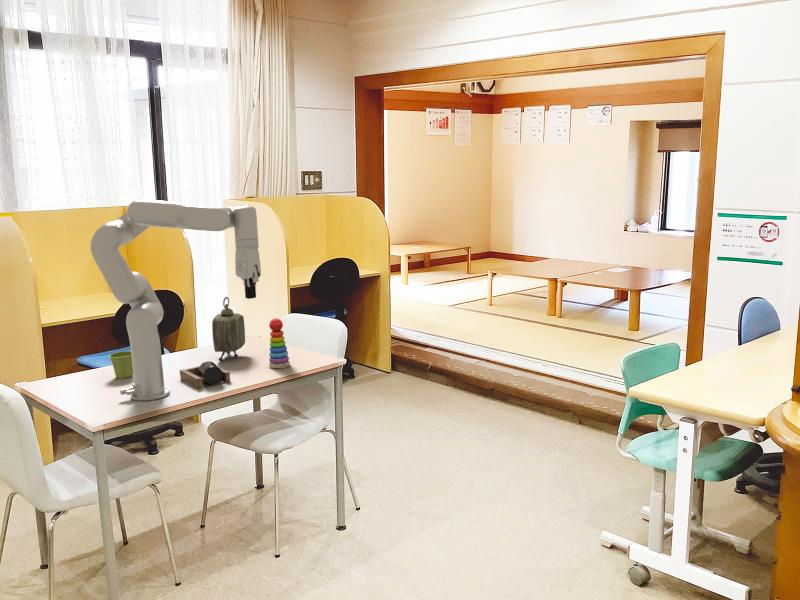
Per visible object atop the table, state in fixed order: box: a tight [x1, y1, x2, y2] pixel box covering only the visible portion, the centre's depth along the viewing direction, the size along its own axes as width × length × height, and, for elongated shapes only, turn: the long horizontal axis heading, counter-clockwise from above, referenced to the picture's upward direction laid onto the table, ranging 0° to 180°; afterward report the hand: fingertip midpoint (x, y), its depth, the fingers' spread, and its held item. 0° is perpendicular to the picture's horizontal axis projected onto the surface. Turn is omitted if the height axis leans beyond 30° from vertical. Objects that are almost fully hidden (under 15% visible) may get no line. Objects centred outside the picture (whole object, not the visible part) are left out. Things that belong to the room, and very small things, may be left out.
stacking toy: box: [268, 318, 291, 369], centre depth 274 cm, size 8×8×19 cm
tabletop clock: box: [211, 296, 246, 362], centre depth 288 cm, size 14×9×25 cm, turn 177°
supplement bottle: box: [199, 360, 223, 386], centre depth 258 cm, size 7×7×12 cm
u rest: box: [179, 365, 231, 390], centre depth 260 cm, size 12×16×4 cm
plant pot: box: [108, 350, 134, 379], centre depth 268 cm, size 9×9×9 cm
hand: (250, 297), depth 242 cm, fingers closed
